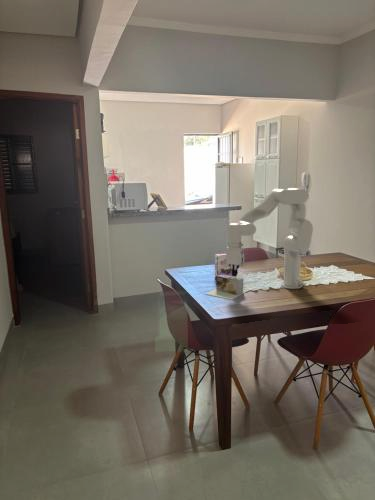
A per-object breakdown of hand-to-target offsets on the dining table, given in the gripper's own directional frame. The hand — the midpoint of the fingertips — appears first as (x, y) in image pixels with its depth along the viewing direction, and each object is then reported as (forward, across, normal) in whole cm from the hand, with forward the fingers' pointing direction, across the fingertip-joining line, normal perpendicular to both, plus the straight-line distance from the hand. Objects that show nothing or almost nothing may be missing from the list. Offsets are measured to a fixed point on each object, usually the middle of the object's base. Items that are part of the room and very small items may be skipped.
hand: (234, 275), depth 217 cm
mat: (+11, +5, +1) cm, 12 cm away
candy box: (+11, +22, -26) cm, 36 cm away
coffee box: (+6, -4, -1) cm, 7 cm away
